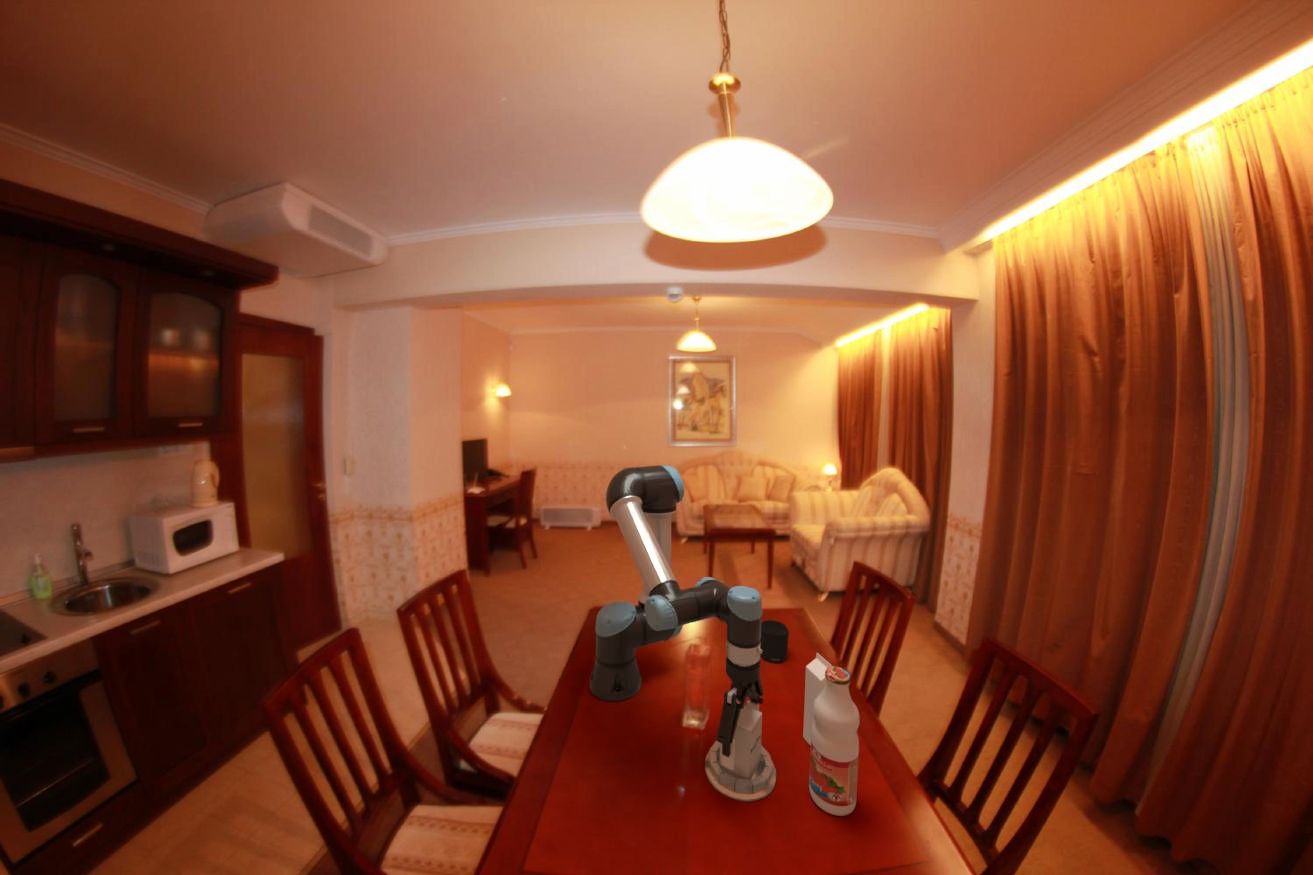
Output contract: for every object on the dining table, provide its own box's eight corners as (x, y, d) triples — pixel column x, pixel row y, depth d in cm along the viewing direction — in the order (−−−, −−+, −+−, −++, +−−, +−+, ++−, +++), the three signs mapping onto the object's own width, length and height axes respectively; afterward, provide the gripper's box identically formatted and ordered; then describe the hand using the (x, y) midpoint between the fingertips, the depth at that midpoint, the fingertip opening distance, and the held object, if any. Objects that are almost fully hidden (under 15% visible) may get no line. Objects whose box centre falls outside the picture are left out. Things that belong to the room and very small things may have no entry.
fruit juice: (866, 811, 91) (873, 683, 89) (826, 822, 89) (832, 690, 87) (836, 774, 100) (842, 656, 98) (800, 783, 98) (804, 662, 96)
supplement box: (748, 786, 96) (750, 731, 95) (718, 769, 100) (719, 717, 99) (761, 763, 102) (763, 712, 101) (732, 749, 106) (733, 699, 105)
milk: (817, 755, 106) (821, 668, 104) (802, 737, 112) (805, 653, 110) (839, 749, 108) (842, 663, 106) (823, 731, 113) (826, 650, 111)
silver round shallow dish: (692, 777, 99) (692, 765, 99) (723, 733, 112) (724, 723, 112) (760, 815, 90) (760, 802, 90) (785, 763, 103) (786, 752, 103)
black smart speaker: (753, 656, 147) (754, 627, 146) (766, 645, 154) (767, 617, 153) (780, 668, 141) (781, 637, 140) (792, 655, 148) (793, 626, 147)
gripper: (734, 693, 87) (732, 794, 89) (778, 638, 107) (775, 721, 109) (701, 680, 91) (699, 776, 93) (749, 629, 112) (747, 709, 113)
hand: (740, 746), depth 101 cm, fingers open, 13 cm apart
